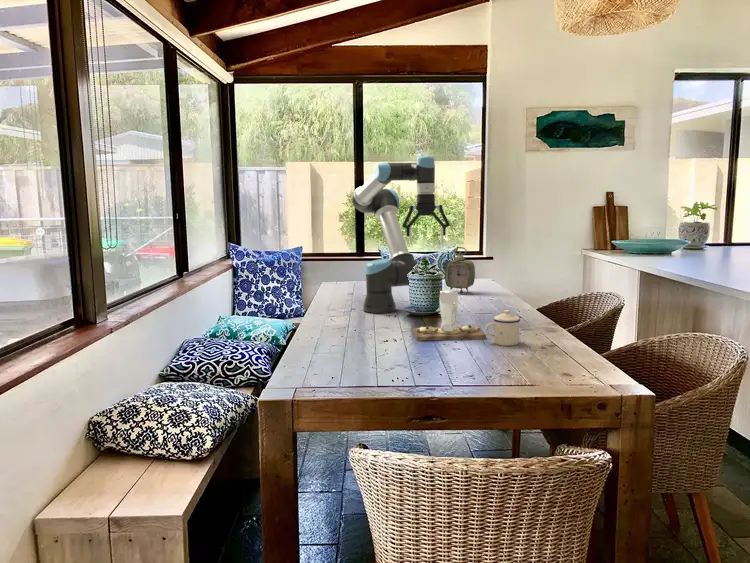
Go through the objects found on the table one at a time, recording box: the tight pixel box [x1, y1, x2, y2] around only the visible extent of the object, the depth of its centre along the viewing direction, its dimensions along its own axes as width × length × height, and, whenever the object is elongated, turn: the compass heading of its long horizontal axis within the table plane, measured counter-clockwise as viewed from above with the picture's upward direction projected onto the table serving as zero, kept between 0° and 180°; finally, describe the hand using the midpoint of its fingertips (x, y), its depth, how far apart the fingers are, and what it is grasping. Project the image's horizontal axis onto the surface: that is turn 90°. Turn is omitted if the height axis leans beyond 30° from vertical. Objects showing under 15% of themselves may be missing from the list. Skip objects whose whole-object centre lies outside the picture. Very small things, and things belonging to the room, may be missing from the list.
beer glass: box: [438, 288, 459, 332], centre depth 209 cm, size 7×7×15 cm
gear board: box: [413, 324, 487, 342], centre depth 210 cm, size 25×14×4 cm, turn 92°
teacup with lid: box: [484, 309, 521, 347], centre depth 197 cm, size 12×9×12 cm
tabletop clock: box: [444, 246, 476, 295], centre depth 298 cm, size 14×9×25 cm, turn 62°
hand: (426, 243), depth 240 cm, fingers open, 13 cm apart
